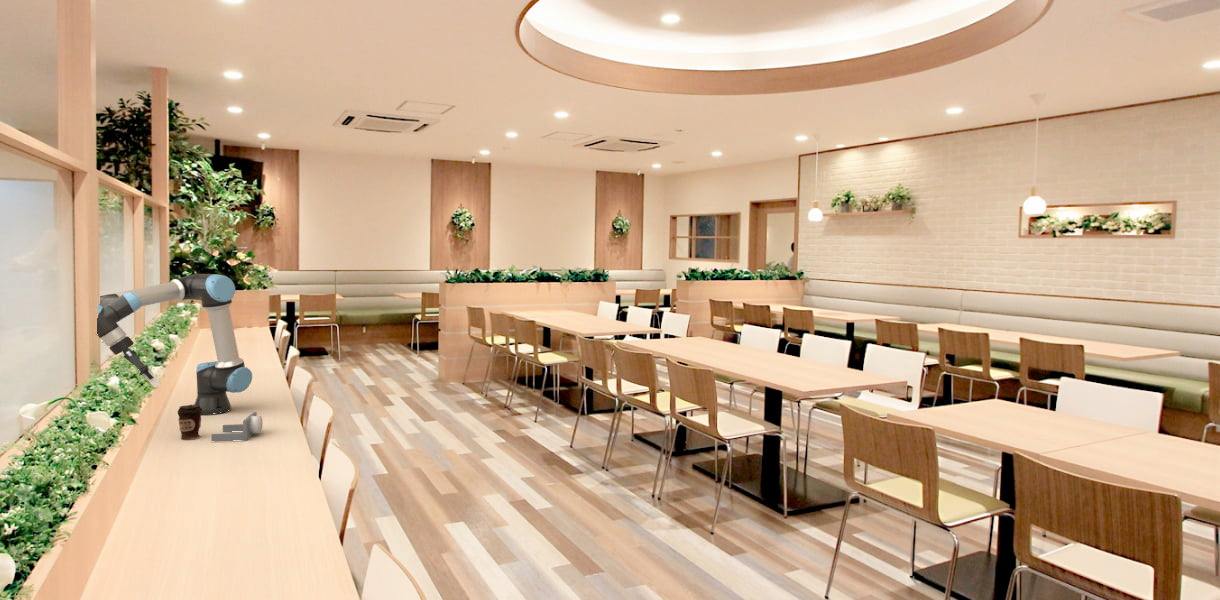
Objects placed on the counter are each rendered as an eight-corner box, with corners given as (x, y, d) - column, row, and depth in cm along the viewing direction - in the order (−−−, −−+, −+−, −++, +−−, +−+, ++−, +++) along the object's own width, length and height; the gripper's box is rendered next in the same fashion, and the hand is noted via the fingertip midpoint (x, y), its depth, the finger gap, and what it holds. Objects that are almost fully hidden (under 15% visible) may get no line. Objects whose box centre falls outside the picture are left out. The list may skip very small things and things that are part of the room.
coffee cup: (194, 441, 281) (193, 408, 280) (173, 440, 281) (172, 408, 280) (207, 435, 289) (206, 403, 288) (186, 435, 290) (185, 403, 289)
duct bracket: (223, 432, 295) (223, 413, 294) (265, 430, 298) (264, 411, 298) (211, 442, 280) (210, 422, 279) (255, 440, 283) (255, 420, 283)
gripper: (107, 346, 281) (145, 387, 288) (108, 348, 261) (149, 392, 268) (126, 334, 285) (163, 375, 292) (128, 335, 265) (168, 380, 272)
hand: (156, 384), depth 280 cm, fingers open, 13 cm apart
